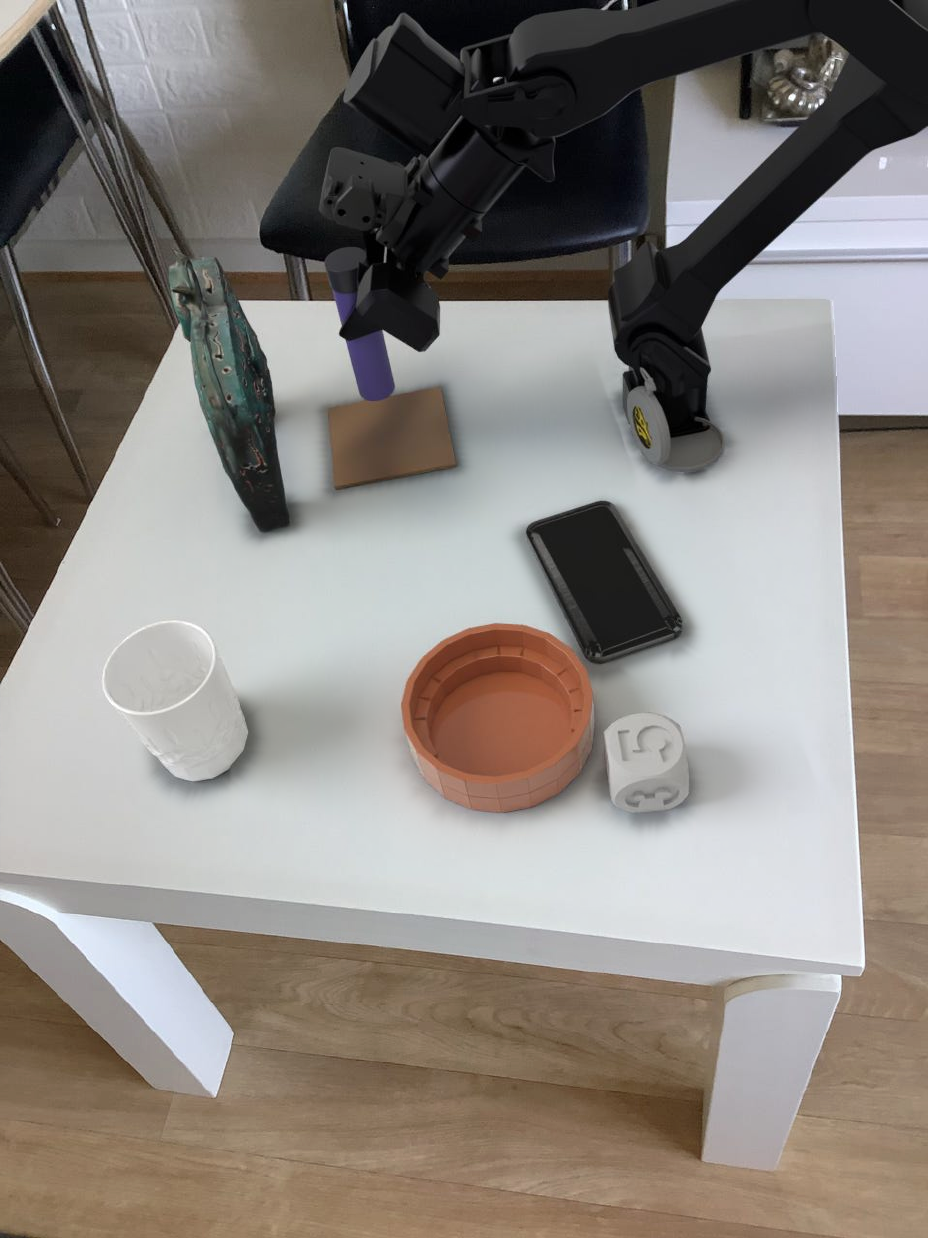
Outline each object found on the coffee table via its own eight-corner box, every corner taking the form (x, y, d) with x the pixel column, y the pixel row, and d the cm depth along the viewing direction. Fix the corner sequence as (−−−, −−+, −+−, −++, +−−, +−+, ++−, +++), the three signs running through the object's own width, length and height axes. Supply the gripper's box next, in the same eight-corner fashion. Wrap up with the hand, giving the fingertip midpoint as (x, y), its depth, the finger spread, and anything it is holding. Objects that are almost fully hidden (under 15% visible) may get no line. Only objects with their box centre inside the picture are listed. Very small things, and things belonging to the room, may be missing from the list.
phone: (589, 661, 78) (521, 525, 87) (590, 670, 78) (523, 534, 88) (688, 628, 78) (610, 496, 88) (688, 637, 79) (611, 505, 88)
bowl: (573, 645, 80) (570, 608, 77) (612, 796, 72) (611, 762, 68) (403, 677, 80) (393, 642, 77) (423, 831, 72) (412, 799, 69)
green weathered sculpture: (217, 405, 104) (143, 220, 88) (280, 388, 104) (218, 201, 89) (243, 545, 91) (163, 358, 76) (315, 524, 92) (250, 335, 76)
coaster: (440, 389, 101) (440, 385, 101) (456, 466, 94) (455, 463, 94) (328, 410, 101) (327, 407, 101) (335, 489, 94) (334, 486, 94)
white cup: (274, 711, 80) (235, 631, 72) (227, 800, 76) (181, 726, 68) (185, 690, 82) (138, 610, 74) (134, 775, 78) (79, 700, 70)
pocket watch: (737, 439, 92) (746, 345, 84) (689, 499, 88) (694, 406, 80) (655, 410, 96) (657, 317, 88) (606, 466, 92) (603, 375, 84)
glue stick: (403, 390, 92) (374, 258, 82) (370, 407, 91) (337, 277, 81) (383, 371, 94) (353, 241, 84) (351, 388, 93) (316, 259, 83)
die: (603, 754, 74) (602, 715, 70) (675, 747, 74) (677, 708, 70) (613, 818, 71) (612, 781, 67) (687, 811, 71) (691, 773, 67)
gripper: (375, 55, 79) (272, 207, 89) (360, 186, 68) (243, 345, 77) (490, 143, 85) (381, 278, 94) (494, 279, 73) (370, 416, 83)
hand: (345, 323), depth 87 cm, fingers closed on glue stick, 3 cm apart
